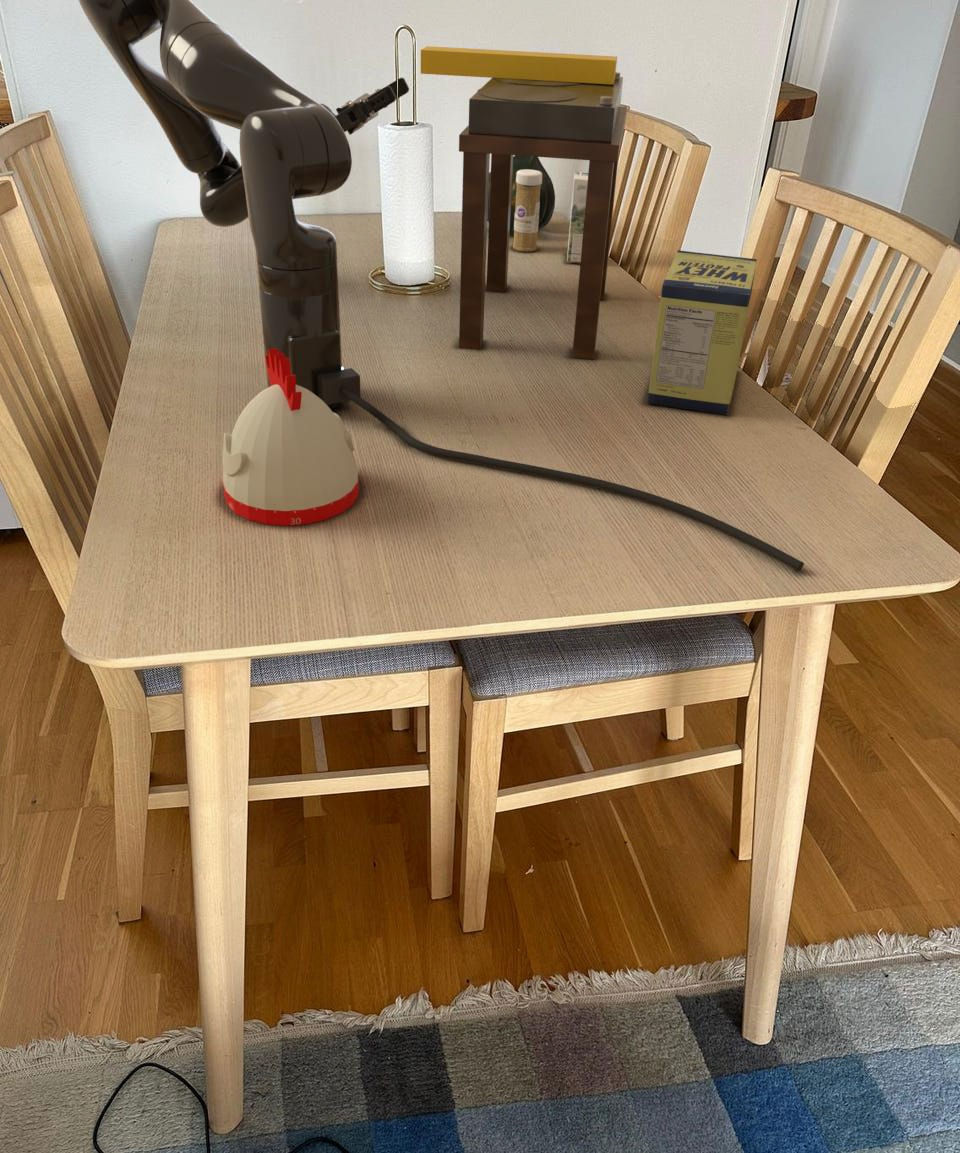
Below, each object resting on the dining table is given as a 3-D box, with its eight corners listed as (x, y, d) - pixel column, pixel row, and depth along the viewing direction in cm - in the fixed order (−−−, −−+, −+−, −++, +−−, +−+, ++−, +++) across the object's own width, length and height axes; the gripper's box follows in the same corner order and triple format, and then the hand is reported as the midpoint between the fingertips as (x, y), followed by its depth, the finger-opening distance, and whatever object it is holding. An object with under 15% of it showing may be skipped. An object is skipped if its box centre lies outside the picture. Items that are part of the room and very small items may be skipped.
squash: (454, 203, 189) (508, 143, 180) (480, 189, 201) (532, 133, 193) (505, 261, 191) (561, 205, 183) (527, 244, 203) (581, 191, 195)
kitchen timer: (330, 452, 114) (323, 323, 106) (379, 507, 104) (376, 369, 96) (208, 476, 108) (191, 342, 100) (248, 537, 98) (232, 393, 90)
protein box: (737, 371, 138) (758, 257, 130) (729, 416, 126) (751, 293, 117) (660, 361, 140) (676, 248, 132) (645, 405, 128) (661, 283, 119)
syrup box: (599, 256, 182) (607, 171, 174) (599, 266, 177) (607, 179, 169) (567, 254, 182) (574, 169, 174) (566, 263, 178) (573, 177, 169)
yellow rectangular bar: (420, 73, 141) (420, 49, 140) (426, 69, 145) (426, 46, 143) (613, 84, 138) (615, 60, 137) (614, 80, 142) (617, 56, 140)
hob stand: (454, 348, 142) (459, 92, 124) (486, 283, 167) (494, 62, 148) (597, 361, 140) (623, 102, 122) (607, 293, 164) (630, 70, 146)
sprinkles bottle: (509, 250, 183) (513, 172, 176) (517, 244, 187) (521, 167, 179) (533, 253, 182) (538, 175, 175) (540, 247, 186) (545, 170, 178)
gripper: (279, 126, 143) (374, 68, 137) (309, 110, 155) (397, 56, 149) (308, 176, 147) (402, 121, 141) (334, 156, 158) (422, 105, 152)
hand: (399, 87), depth 145 cm, fingers open, 8 cm apart
